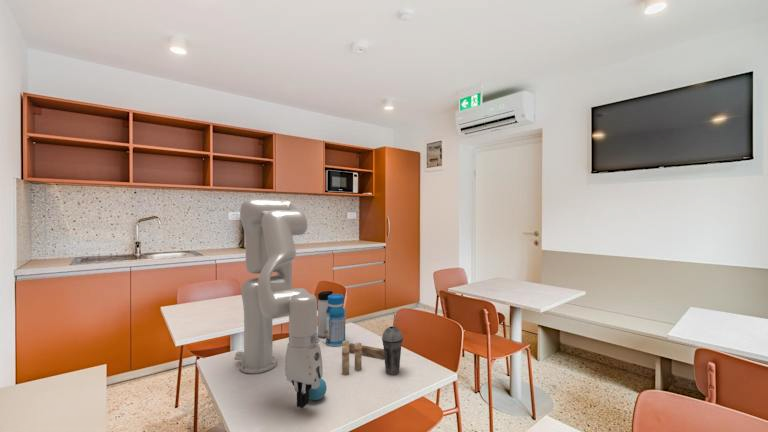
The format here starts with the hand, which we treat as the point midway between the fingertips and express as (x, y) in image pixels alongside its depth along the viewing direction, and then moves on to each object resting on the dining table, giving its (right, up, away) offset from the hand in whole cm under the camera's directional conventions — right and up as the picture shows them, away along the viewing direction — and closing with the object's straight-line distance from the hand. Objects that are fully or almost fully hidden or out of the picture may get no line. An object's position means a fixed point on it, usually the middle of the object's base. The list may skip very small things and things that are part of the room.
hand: (302, 404), depth 93 cm
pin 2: (+14, -1, +24) cm, 28 cm away
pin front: (+10, -1, +21) cm, 23 cm away
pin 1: (+9, -1, +26) cm, 28 cm away
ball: (+3, +2, +6) cm, 6 cm away
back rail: (+16, -1, +36) cm, 40 cm away
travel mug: (-4, -1, +56) cm, 56 cm away
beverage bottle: (+2, -1, +48) cm, 48 cm away
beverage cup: (+25, -2, +22) cm, 34 cm away
